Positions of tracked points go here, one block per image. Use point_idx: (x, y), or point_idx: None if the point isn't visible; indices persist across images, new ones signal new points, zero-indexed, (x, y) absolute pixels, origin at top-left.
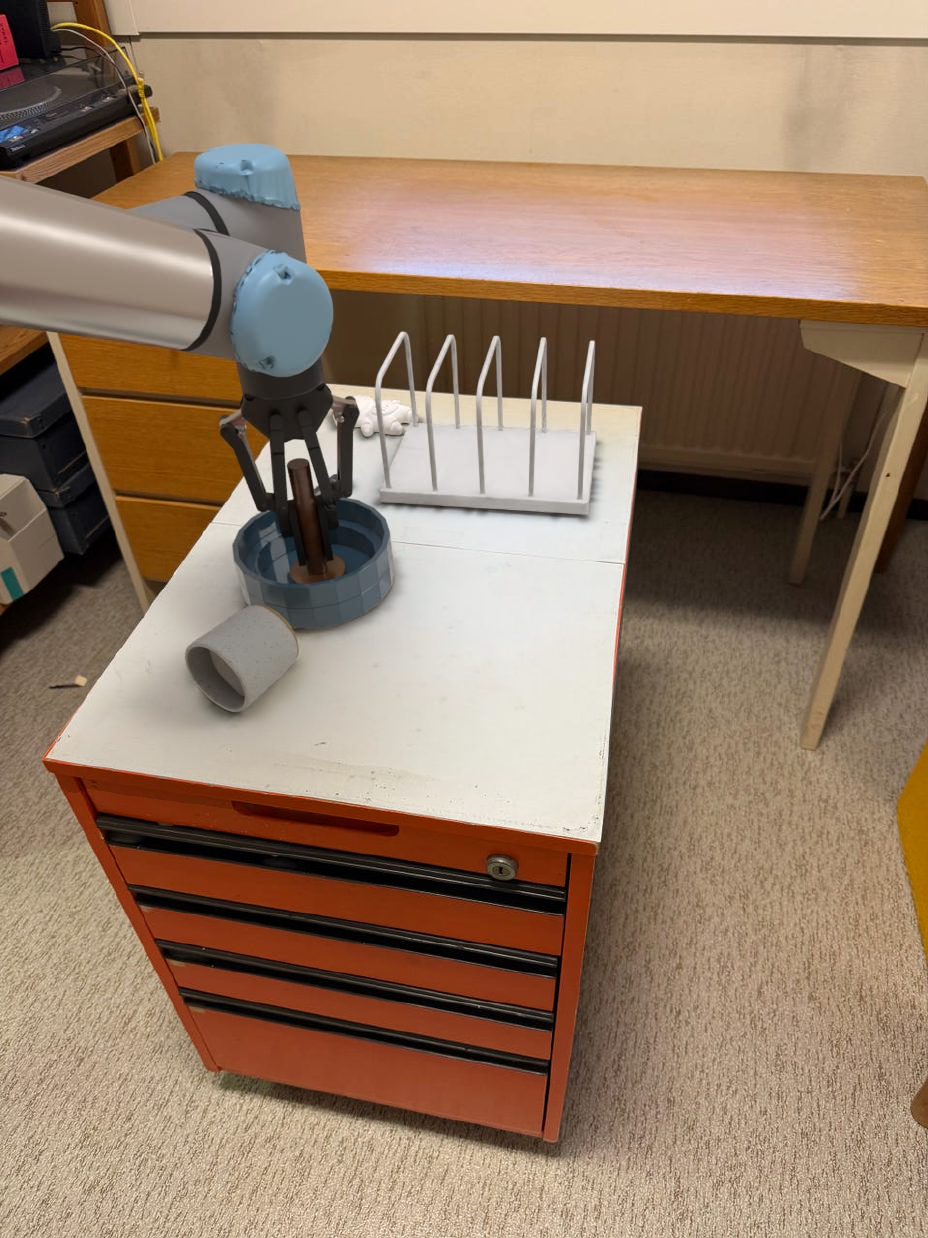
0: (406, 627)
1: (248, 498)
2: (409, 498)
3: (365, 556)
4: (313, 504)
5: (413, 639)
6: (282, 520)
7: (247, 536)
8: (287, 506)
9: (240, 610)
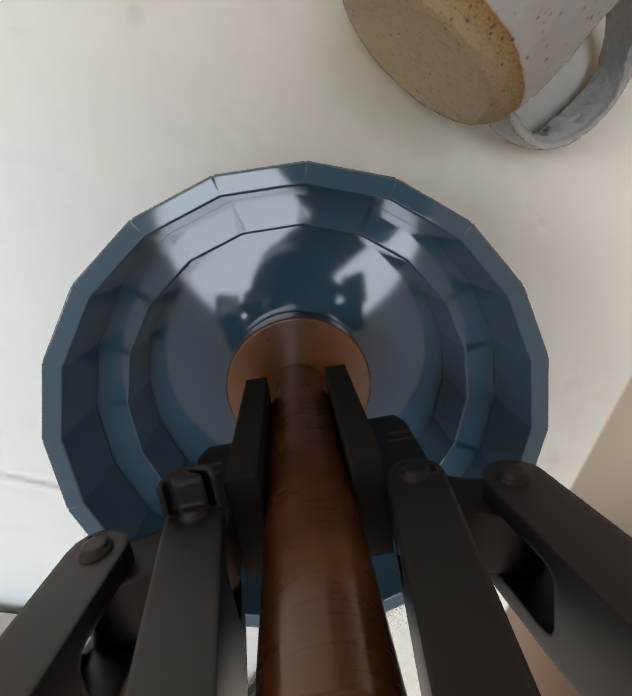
0: (63, 168)
1: None
2: (89, 637)
3: (187, 447)
4: (274, 505)
5: (38, 112)
6: (406, 452)
7: None
8: (392, 483)
9: (557, 4)
